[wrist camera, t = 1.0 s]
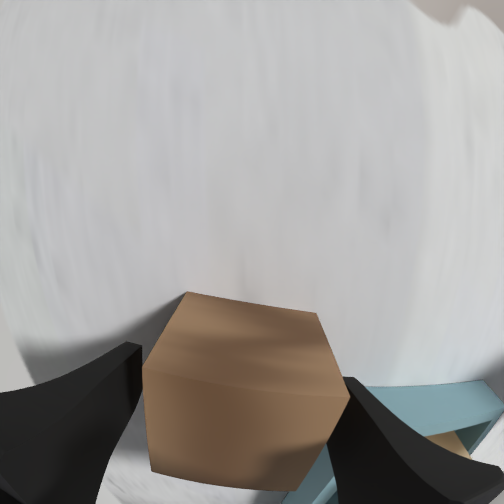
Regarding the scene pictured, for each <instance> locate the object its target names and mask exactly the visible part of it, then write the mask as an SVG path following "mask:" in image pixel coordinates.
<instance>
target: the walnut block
mask: <svg viewBox="0 0 504 504" xmlns="http://www.w3.org/2000/svg"><path fill="white" fill-rule="evenodd" d="M142 379H143V397H144V411H145V423H146V433H147V442H148V450H149V458H150V465H151V471H152V472H155V473H159V474H163V475H167V476H171V477H175V478H179V479H184V480H189V481H194V482H199V483H205V484H211V485H217V486H224V487H232V488H241V489H252V490H266V491H296V490H297V489H298V487H299V486H300V484H301V483H302V481H303V480H304V478H305V477H306V475H307V474H308V472H309V471H310V469H311V467H312V466H313V464H314V463H315V461H316V459H317V458H318V456H319V454H320V453H321V451H322V449H323V448H324V446H325V444H326V442H327V441H328V439H329V437H330V435H331V433H332V432H333V430H334V428H335V426H336V424H337V422H338V420H339V419H340V417H341V415H342V413H343V411H344V409H345V407H346V405H347V403H348V401H349V399H350V395H349V392H348V390H347V387H346V385H345V382H344V380H343V377H342V375H341V372H340V370H339V367H338V365H337V362H336V360H335V357H334V355H333V352H332V350H331V347H330V345H329V343H328V340H327V338H326V335H325V333H324V331H323V328H322V326H321V323H320V321H319V319H318V316H317V314H316V313H312V312H305V311H298V310H292V309H285V308H278V307H272V306H266V305H260V304H254V303H248V302H242V301H236V300H230V299H225V298H219V297H214V296H208V295H203V294H198V293H193V292H188V291H187V292H186V294H185V296H184V297H183V299H182V301H181V302H180V304H179V305H178V307H177V309H176V310H175V312H174V314H173V315H172V317H171V319H170V320H169V322H168V324H167V325H166V327H165V329H164V330H163V332H162V334H161V335H160V337H159V339H158V340H157V342H156V344H155V346H154V347H153V349H152V351H151V352H150V354H149V356H148V358H147V359H146V361H145V363H144V364H143V366H142Z"/></svg>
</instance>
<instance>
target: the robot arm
mask: <svg viewBox="0 0 504 504" xmlns="http://www.w3.org/2000/svg"><path fill="white" fill-rule="evenodd" d="M343 380H344V382H345V385H346V387H347V390H348V392H349V395H350V399H349V401H348V403H347V405H346V407H345V409H344V411H343V413H342V415H341V417H340V419H339V420H338V422H337V424H336V426H335V428H334V430H333V432H332V433H331V435H330V437H329V439H328V441H327V442H326V444H327V448H328V453H329V457H330V461H331V465H332V469H333V473H334V477H335V481H336V486H337V493H338V503H339V504H489V503H490V502H491V501H492V500H493V499H494V498H496V497H497V496H498V495H499V494H500V493H501V492H502V491H503V490H504V473H503V471H502V470H501V468H500V467H499V466H495V465H490V464H486V463H482V462H478V461H474V460H471V459H469V458H466V457H463V456H460V455H458V454H456V453H453V452H451V451H449V450H447V449H445V448H443V447H441V446H439V445H437V444H435V443H434V442H432V441H430V440H428V439H427V438H425V437H424V436H422V435H421V434H419V433H418V432H416V431H415V430H413V429H412V428H411V427H409V426H408V425H407V424H406V423H404V422H403V421H402V420H401V419H399V418H398V417H397V416H396V415H395V414H393V413H392V412H391V411H390V410H389V409H388V408H387V407H386V406H385V405H383V404H382V403H381V402H380V401H379V400H378V399H377V398H376V397H375V396H374V395H373V394H372V393H371V392H370V391H369V390H368V389H367V388H365V387H364V386H363V385H362V384H361V383H360V382H359V381H358V380H357V379H356V378H354V377H343ZM142 389H143V379H142V345H138V344H134V343H130V342H125V343H123V344H121V345H120V346H118V347H116V348H115V349H113V350H111V351H109V352H108V353H106V354H104V355H103V356H101V357H99V358H97V359H95V360H94V361H92V362H90V363H88V364H86V365H84V366H82V367H80V368H78V369H76V370H74V371H72V372H70V373H68V374H66V375H64V376H61V377H59V378H56V379H54V380H51V381H48V382H45V383H42V384H39V385H36V386H32V387H27V388H24V389H19V390H15V391H9V392H2V393H0V504H95V503H96V499H97V495H98V492H99V489H100V485H101V482H102V479H103V476H104V473H105V470H106V467H107V465H108V462H109V459H110V457H111V455H112V452H113V450H114V448H115V446H116V445H117V443H118V441H119V439H120V437H121V435H122V433H123V431H124V429H125V428H126V426H127V424H128V422H129V420H130V418H131V416H132V414H133V412H134V410H135V408H136V406H137V403H138V400H139V398H140V395H141V392H142Z"/></svg>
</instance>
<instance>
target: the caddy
mask: <svg viewBox="0 0 504 504" xmlns="http://www.w3.org/2000/svg"><path fill="white" fill-rule="evenodd" d="M365 388H367V389H368V390H369V391H370V392H371V393H372V394H373V395H374V396H375V397H376V398H377V399H378V400H379V401H380V402H381V403H382V404H383V405H385V406H386V407H387V408H388V409H389V410H390V411H391V412H392V413H393V414H395V415H396V416H397V417H398V418H399V419H401V420H402V421H403V422H404V423H406V424H407V425H408V426H409V427H411V428H412V429H413V430H415V431H416V432H418V433H419V434H421V435H422V436H430V435H435V434H440V433H445V432H449V431H453V430H454V431H455V433H456V435H457V436H458V438H459V439H460V441H461V442H462V444H463V445H464V447H465V449H466V450H467V452H468V453H469V455H471V454H472V452H473V451H474V450H475V449H476V448H477V446H478V445H479V444H480V443H481V441H482V440H483V439H484V438H485V436H486V435H487V434H488V432H489V431H490V430H491V428H492V427H493V426H494V424H495V423H496V422H497V420H498V419H499V417H500V416H501V414H502V413H503V411H504V403H503V402H502V401H501V400H500V399H499V398H498V396H497V395H496V394H495V393H494V392H493V391H492V390H491V389H490V388H489V387H488V385H487V384H486V383H485V382H484V381H483V380H478V381H470V382H462V383H452V384H441V385H427V386H405V387H365ZM281 504H339V503H338V493H337V486H336V481H335V477H334V473H333V469H332V465H331V461H330V457H329V453H328V448H327V444H325V446H324V448H323V449H322V451H321V453H320V454H319V456H318V458H317V459H316V461H315V463H314V464H313V466H312V467H311V469H310V471H309V472H308V474H307V475H306V477H305V478H304V480H303V481H302V483H301V484H300V486H299V487H298V489H297V490H296V491H289V493H288V494H287V496H286V497H285V499H284V500H283V501H282V503H281Z"/></svg>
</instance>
